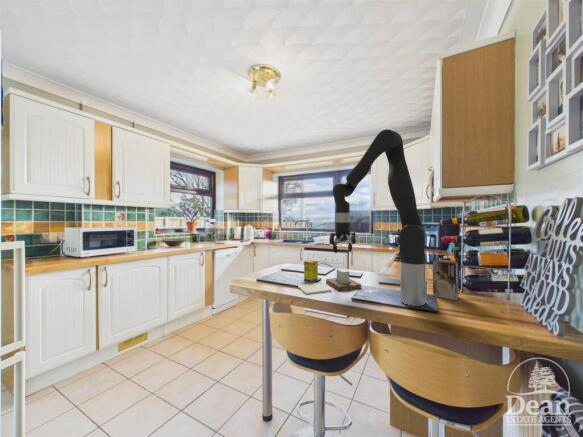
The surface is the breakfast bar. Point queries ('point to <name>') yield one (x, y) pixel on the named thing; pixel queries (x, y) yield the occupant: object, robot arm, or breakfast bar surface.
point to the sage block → (342, 276)
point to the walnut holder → (342, 287)
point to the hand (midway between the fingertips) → (342, 252)
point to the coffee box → (445, 279)
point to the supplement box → (310, 270)
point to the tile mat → (313, 288)
